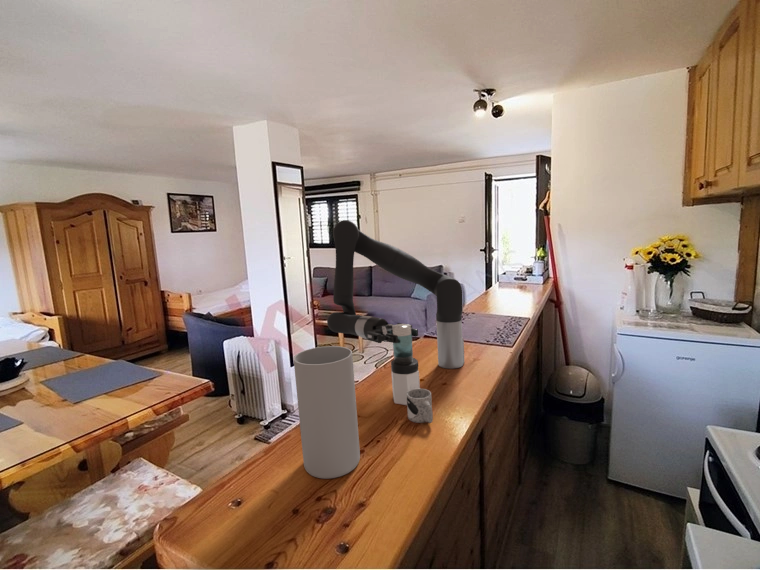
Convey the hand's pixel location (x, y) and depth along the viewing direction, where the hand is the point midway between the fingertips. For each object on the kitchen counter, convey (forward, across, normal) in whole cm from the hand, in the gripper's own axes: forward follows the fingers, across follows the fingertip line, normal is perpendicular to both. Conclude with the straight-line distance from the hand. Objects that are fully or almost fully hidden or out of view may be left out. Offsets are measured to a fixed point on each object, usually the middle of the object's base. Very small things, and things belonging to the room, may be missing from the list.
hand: (407, 336), depth 109 cm
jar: (-2, 0, +20) cm, 20 cm away
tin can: (-2, 0, +8) cm, 8 cm away
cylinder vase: (+8, -34, +20) cm, 40 cm away
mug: (+10, -6, +20) cm, 23 cm away
